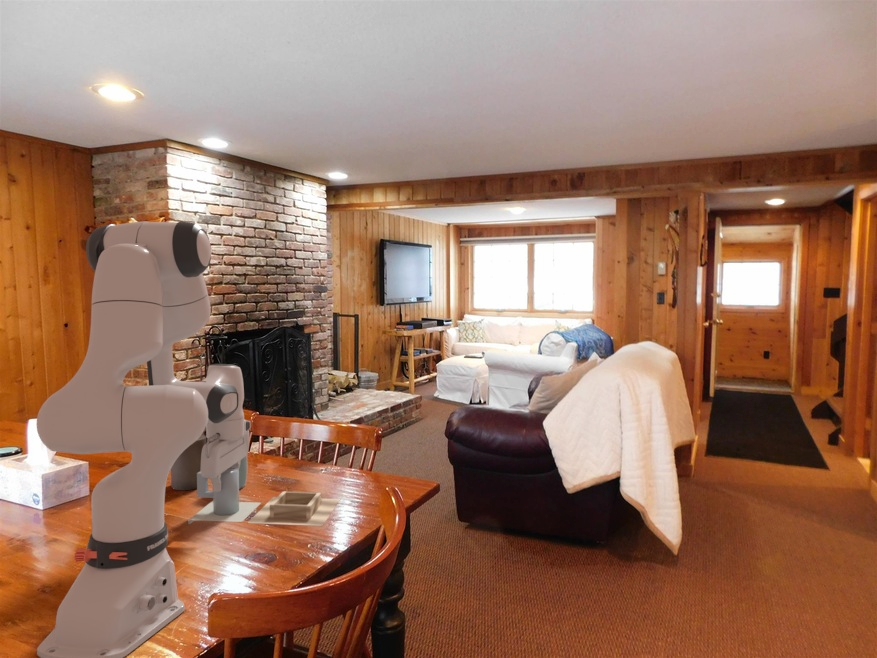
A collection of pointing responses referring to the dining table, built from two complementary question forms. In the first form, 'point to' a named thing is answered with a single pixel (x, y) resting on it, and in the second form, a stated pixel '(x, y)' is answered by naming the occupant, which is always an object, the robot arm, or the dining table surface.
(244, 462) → the cup
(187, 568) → the dining table surface
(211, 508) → the mat
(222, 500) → the light blue mug
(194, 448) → the pillar candle
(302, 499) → the holder
